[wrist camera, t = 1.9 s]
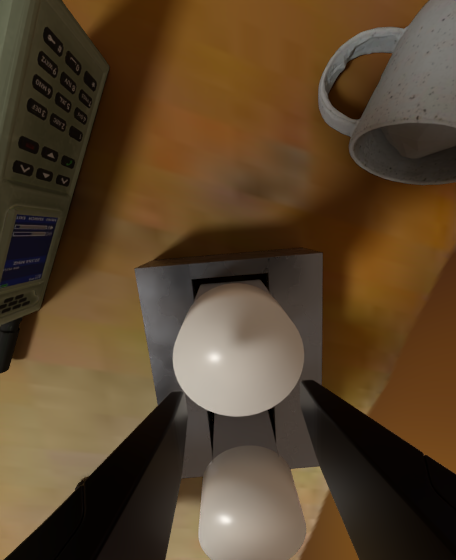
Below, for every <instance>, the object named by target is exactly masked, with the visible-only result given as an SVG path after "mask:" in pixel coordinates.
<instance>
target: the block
mask: <svg viewBox="0 0 456 560" xmlns="http://www.w3.org/2000/svg"><path fill="white" fill-rule="evenodd" d="M372 52H379V53H380V52H384V53H393V54H392V56H391V58H390V60H389V62H388V64H387V66H386V68H385V70H384V72H383V74H382V75H381V80H380V81H379V83H378V85H377V87H376V89H375V91H374V93H373V95H372V96H371V98H370V100H369V102H368V104H367V107H366V108H365V110H364V112H363V114H362V116H361V118H360V119H357V120H356V119H351V118H349V117H347V116H346V115H344V114H342V113H340V112H339V111H338V110H336V109H335V108H334V107H333V106H332V105H331V103H330V101H329V99H328V93H329V91H330V89H331V87H332V85H333V83H334V81H335V80H336V78H337V77H338V75H339V74H340V73H341V72H342V71H343V70H344V69H345V67H346V63H347V62H348V61H350V60H352V59H354V58H356V57H358V56H360V55H364V54H370V53H372ZM318 101H319V110H320V112H321V115H322V117H323V119H324V120H325V122H326V123H327V124H328V125H329V126H330V127H332V128H334V129H335V130H337V131H339V132H340V133H342V134H345V135H347V136H350V137H351V139H350V143H349V152H350V155H351V157H352V158H353V160H354V161H355V162H356V163H357V164H358V165H359V166H360V167H362V168H363V169H365V170H367V171H368V172H370V173H372V174H374V175H376V176H379V177H382V178H384V179H388V180H391V181H395V182H402V183H407V184H417V185H433V184H435V185H438V184H446V183H453V182H456V0H429V1H428V2H427V3H426V4H425V5H424V6H423V7H422V9H421V10H420V11H419V12H418V14H417V15H416V16H415V18H414V19H413V21H412V22H411V24H410V25H409V26H407V27H406V28H405V29H402V28H398V27H380V28H375V29H371V30H367V31H364V32H361V33H359V34H358V35H356V36H354V37H353V38H351V39H350V40H348V41H347V42H346V43H345V44H343V45H342V46H341V47H340V48H339V49H338V50H337V51H336V53H335V54H334V55H333V56H332V58H331V59H330V61H329V62H328V64H327V66H326V68H325V70H324V72H323V74H322V76H321V80H320V83H319V92H318Z"/></svg>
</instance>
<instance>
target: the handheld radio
mask: <svg viewBox="0 0 456 560" xmlns="http://www.w3.org/2000/svg"><path fill="white" fill-rule="evenodd" d="M108 71H109V65H108V64H107V62H106V60H105V59H104V58H103V56H102V55H101V54H100V52H99V51H98V49H97V48H96V47H95V45H94V44H93V43H92V41H91V40H90V38H89V37H88V36H87V34H86V33H85V32H84V30H83V29H82V28H81V26H80V25H79V23H78V22H77V21H76V19H75V18H74V17H73V15H72V14H71V12H70V11H69V10H68V8H67V7H66V6H65V4H64V3H63V2H62V0H0V325H1V326H0V373H3V372H5V371H7V370H8V369H9V366H10V363H11V359H12V355H13V352H14V348H15V344H16V341H17V337H18V333H19V330H20V329H19V324H20V322H21V321H22V318H23V316H25V315H27V314H30V313H32V312H35V311H37V310H39V309H40V308H41V304H42V301H43V297H44V294H45V290H46V287H47V283H48V280H49V276H50V273H51V269H52V266H53V262H54V259H55V255H56V252H57V248H58V245H59V241H60V238H61V235H62V231H63V228H64V224H65V221H66V217H67V214H68V210H69V207H70V203H71V200H72V196H73V193H74V189H75V186H76V182H77V179H78V175H79V172H80V168H81V165H82V161H83V158H84V154H85V151H86V147H87V144H88V140H89V137H90V133H91V130H92V126H93V123H94V119H95V116H96V112H97V109H98V105H99V102H100V99H101V95H102V92H103V88H104V85H105V81H106V78H107V74H108Z"/></svg>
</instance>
